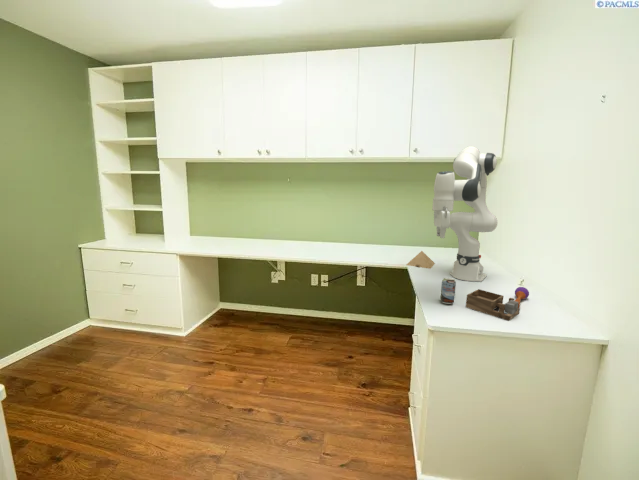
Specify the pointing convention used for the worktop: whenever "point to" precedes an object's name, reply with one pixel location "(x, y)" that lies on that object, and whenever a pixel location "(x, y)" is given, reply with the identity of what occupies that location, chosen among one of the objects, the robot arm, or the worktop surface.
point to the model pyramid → (421, 261)
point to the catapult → (492, 304)
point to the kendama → (521, 294)
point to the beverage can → (448, 290)
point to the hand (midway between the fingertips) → (440, 237)
